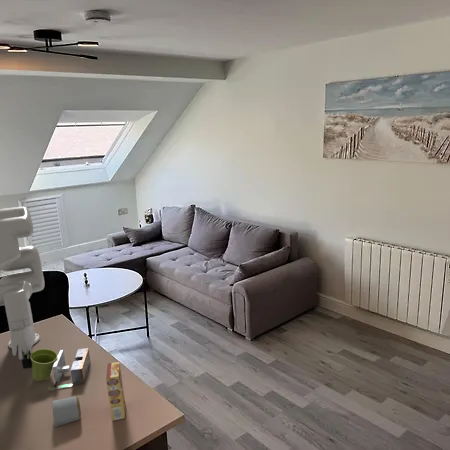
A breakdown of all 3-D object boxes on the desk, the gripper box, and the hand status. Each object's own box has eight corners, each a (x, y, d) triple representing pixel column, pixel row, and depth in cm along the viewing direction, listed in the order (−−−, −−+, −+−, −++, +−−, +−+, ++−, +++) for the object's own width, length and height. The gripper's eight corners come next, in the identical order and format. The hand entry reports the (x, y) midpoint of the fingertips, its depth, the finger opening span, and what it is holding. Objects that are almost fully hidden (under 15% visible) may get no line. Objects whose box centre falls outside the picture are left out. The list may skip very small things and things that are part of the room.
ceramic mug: (83, 423, 131) (79, 401, 129) (55, 432, 127) (51, 410, 126) (79, 404, 140) (75, 384, 138) (53, 412, 137) (49, 391, 135)
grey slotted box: (48, 390, 148) (46, 375, 147) (59, 365, 164) (56, 351, 162) (83, 385, 150) (81, 370, 149) (90, 361, 165) (88, 348, 164)
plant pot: (59, 374, 159) (63, 354, 157) (42, 387, 150) (45, 366, 148) (40, 365, 161) (42, 346, 160) (21, 377, 153) (24, 357, 151)
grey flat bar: (53, 388, 149) (50, 370, 147) (62, 366, 163) (60, 350, 161) (65, 386, 149) (62, 369, 148) (73, 364, 163) (70, 348, 162)
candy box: (125, 419, 132) (119, 376, 128) (111, 421, 131) (105, 378, 127) (125, 401, 140) (120, 361, 136) (112, 404, 139) (106, 363, 136)
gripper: (16, 314, 157) (24, 357, 161) (1, 332, 142) (10, 380, 146) (37, 311, 158) (44, 355, 162) (24, 330, 143) (32, 377, 147)
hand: (28, 367), depth 154 cm, fingers closed
